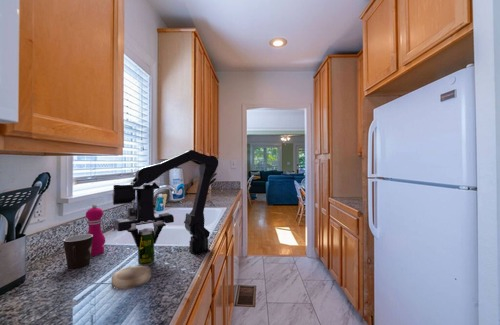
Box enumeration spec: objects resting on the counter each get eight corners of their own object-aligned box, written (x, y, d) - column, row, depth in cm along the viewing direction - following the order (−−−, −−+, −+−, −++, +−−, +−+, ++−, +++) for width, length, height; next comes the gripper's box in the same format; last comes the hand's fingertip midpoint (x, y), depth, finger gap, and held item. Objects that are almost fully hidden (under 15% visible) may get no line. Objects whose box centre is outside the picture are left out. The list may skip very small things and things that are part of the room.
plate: (145, 268, 81) (145, 262, 81) (156, 280, 73) (155, 273, 73) (108, 278, 74) (108, 272, 74) (115, 293, 66) (115, 285, 66)
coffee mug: (76, 260, 89) (75, 234, 89) (98, 260, 89) (98, 234, 89) (49, 275, 78) (48, 244, 78) (74, 275, 77) (74, 244, 77)
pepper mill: (100, 248, 102) (100, 202, 102) (108, 252, 98) (107, 203, 98) (81, 254, 96) (80, 204, 96) (88, 257, 92) (88, 206, 92)
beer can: (139, 261, 87) (138, 229, 88) (154, 259, 89) (154, 227, 89) (137, 267, 82) (136, 232, 82) (154, 265, 84) (153, 231, 84)
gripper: (163, 197, 98) (164, 235, 98) (112, 202, 86) (112, 245, 86) (174, 200, 89) (174, 241, 89) (118, 206, 78) (118, 254, 77)
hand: (146, 245), depth 86 cm, fingers closed on beer can, 5 cm apart
